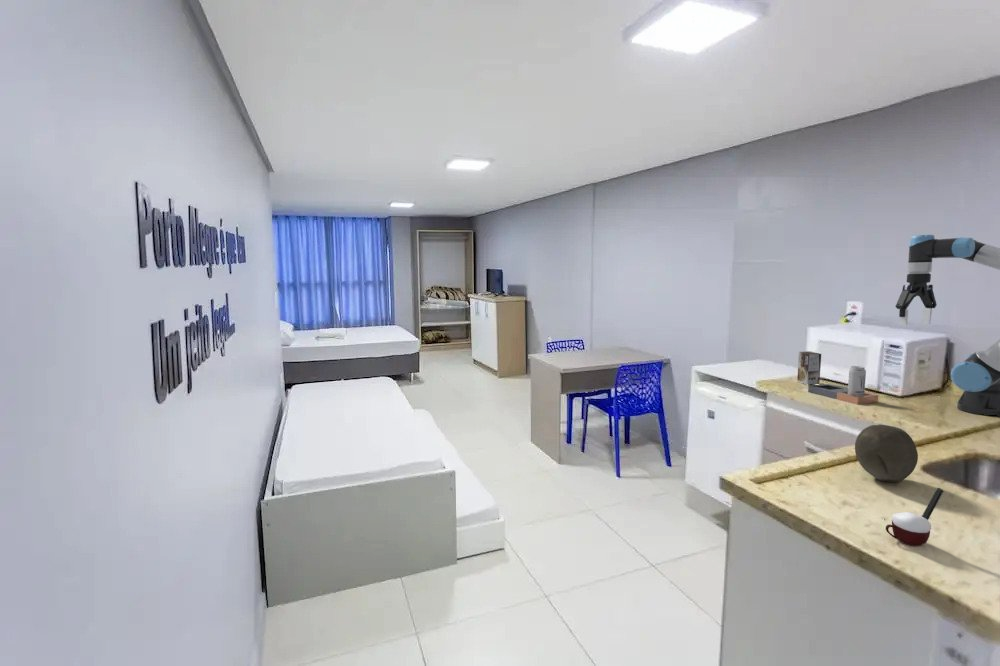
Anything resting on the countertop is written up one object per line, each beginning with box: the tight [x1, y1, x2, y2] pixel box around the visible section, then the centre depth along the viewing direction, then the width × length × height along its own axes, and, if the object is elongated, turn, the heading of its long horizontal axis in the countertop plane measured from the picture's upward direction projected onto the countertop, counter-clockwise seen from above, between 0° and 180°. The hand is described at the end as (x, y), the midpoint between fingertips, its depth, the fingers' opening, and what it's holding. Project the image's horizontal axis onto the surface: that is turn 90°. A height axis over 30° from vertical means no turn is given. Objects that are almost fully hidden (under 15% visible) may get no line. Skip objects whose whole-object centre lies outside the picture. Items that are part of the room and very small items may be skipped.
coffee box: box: [796, 351, 822, 386], centre depth 250 cm, size 9×6×16 cm
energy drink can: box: [847, 365, 867, 396], centre depth 216 cm, size 6×6×15 cm
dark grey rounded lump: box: [854, 424, 919, 483], centre depth 134 cm, size 14×14×15 cm
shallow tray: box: [807, 383, 880, 405], centre depth 223 cm, size 24×12×3 cm, turn 17°
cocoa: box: [885, 487, 944, 547], centre depth 103 cm, size 10×6×12 cm, turn 56°
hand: (914, 324), depth 204 cm, fingers open, 13 cm apart
